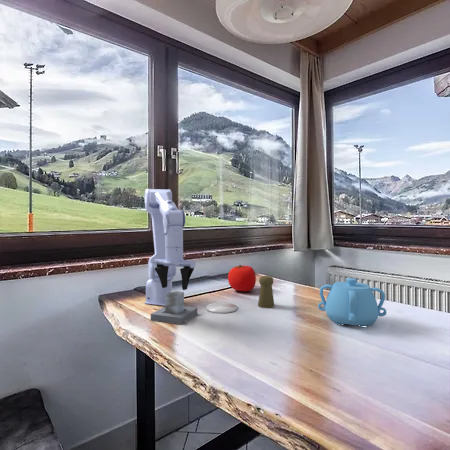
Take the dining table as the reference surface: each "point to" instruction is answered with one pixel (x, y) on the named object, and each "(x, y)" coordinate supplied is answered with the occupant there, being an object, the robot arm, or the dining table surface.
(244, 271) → the tomato
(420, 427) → the dining table surface
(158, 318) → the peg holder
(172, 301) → the grey-blue peg
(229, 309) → the ceramic coaster
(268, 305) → the cork
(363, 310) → the decorative pot
